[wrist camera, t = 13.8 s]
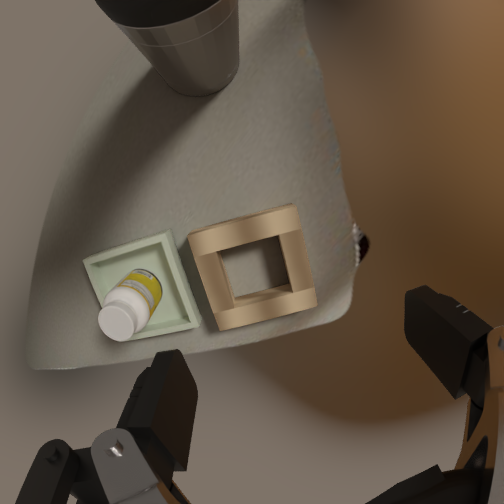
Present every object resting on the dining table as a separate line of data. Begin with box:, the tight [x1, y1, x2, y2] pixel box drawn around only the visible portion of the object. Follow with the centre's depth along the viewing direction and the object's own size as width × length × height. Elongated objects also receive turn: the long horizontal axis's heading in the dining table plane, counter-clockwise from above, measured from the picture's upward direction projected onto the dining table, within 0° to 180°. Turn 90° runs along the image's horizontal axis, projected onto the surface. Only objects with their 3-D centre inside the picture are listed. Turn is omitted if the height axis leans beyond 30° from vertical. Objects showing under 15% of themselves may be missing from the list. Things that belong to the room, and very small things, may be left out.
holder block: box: [187, 203, 318, 331], centre depth 33 cm, size 12×12×3 cm
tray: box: [83, 229, 202, 342], centre depth 33 cm, size 12×12×2 cm
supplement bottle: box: [98, 268, 163, 341], centre depth 29 cm, size 5×5×10 cm
